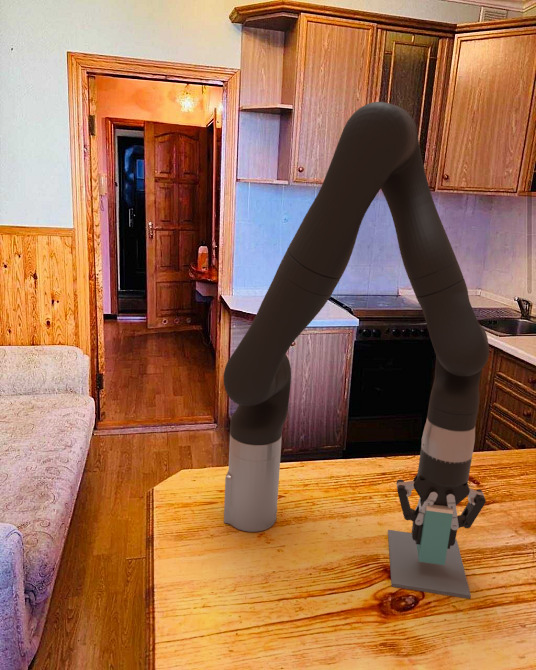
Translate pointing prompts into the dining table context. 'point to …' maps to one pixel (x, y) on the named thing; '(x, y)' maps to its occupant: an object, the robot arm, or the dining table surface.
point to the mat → (425, 568)
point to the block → (435, 534)
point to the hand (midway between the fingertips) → (432, 543)
